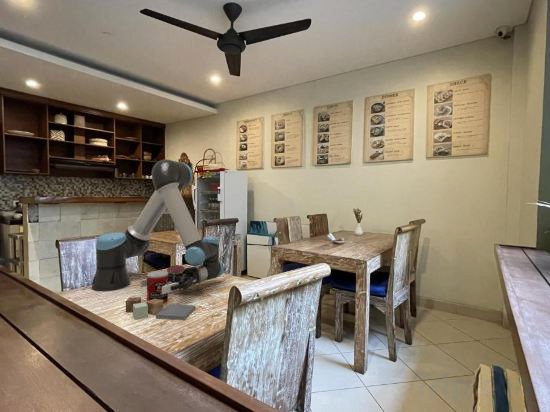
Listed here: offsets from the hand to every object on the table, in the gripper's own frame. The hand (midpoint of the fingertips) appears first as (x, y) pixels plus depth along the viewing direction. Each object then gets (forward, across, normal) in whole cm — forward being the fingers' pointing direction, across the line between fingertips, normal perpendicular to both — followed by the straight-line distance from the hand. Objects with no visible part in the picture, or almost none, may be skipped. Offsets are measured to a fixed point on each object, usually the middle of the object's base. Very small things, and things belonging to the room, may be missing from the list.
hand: (151, 287), depth 113 cm
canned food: (-3, 0, -7) cm, 7 cm away
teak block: (+4, -8, -7) cm, 11 cm away
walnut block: (+7, 0, -7) cm, 10 cm away
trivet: (0, -15, -6) cm, 16 cm away
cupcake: (-27, +19, -7) cm, 34 cm away
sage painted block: (+9, -7, -7) cm, 13 cm away
